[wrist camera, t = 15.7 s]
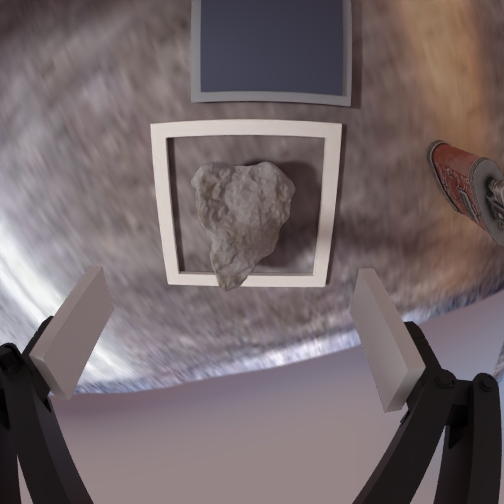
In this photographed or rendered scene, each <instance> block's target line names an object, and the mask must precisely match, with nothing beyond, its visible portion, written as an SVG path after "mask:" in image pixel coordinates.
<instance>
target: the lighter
mask: <svg viewBox="0 0 504 504" xmlns="http://www.w3.org/2000/svg"><path fill="white" fill-rule="evenodd" d="M426 159H427V162H428V164H429V167H430V170H431V172H432V175H433V177H434V179H435V181H436V183H437V185H438V187H439V189H440V190H441V192H442V193H443V195H444V197H445V198H446V200H447V201H448V202H449V203H450V204H451V206H452V207H453V208H454V209H455V210H456V211H457V212H459V213H460V214H463V215H466V216H467V217H469V218H470V219H471V220H473V221H474V222H475V223H476V224H478V225H479V226H480V227H482V228H483V229H484V230H485V231H487V232H488V233H489V234H490V236H491V237H492V239H493V240H494V241H495V242H496V243H497V244H499V245H500V246H504V176H503V174H502V173H501V171H500V170H499V168H498V166H497V165H496V163H495V162H494V161H492V160H490V159H487V158H484V157H482V158H479V157H477V156H474V155H472V154H469V153H467V152H464V151H462V150H459V149H457V148H454V147H452V146H451V145H450V144H448V143H447V142H444V141H440V140H437V141H434V142H432V143H431V144H430V145H429V146H428V149H427V151H426Z"/></svg>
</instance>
